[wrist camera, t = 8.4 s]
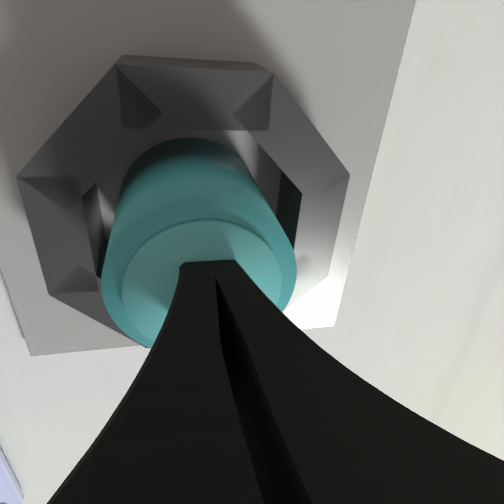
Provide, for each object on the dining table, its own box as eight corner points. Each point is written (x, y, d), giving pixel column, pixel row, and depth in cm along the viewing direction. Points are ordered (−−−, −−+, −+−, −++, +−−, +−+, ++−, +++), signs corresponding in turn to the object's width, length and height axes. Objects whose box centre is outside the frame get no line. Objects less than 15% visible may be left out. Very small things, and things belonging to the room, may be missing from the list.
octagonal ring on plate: (34, 345, 16) (12, 404, 14) (-103, -65, 9) (-202, -96, 7) (329, 318, 19) (354, 362, 17) (407, -9, 12) (472, -15, 9)
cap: (130, 266, 15) (117, 375, 10) (108, 139, 12) (78, 211, 8) (254, 256, 16) (291, 350, 11) (259, 135, 13) (310, 197, 8)
